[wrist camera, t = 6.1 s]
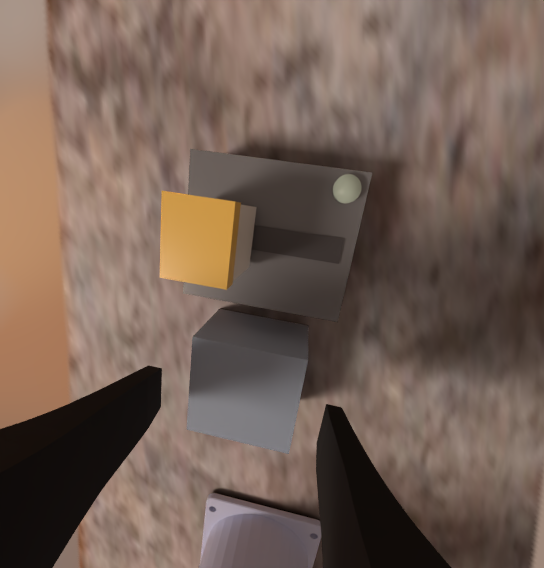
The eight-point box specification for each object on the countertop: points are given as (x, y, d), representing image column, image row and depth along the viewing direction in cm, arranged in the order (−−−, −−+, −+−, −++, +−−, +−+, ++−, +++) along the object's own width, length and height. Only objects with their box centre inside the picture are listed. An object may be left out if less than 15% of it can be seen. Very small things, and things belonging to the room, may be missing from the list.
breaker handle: (250, 268, 11) (226, 289, 8) (201, 260, 11) (159, 277, 8) (258, 206, 10) (235, 201, 7) (206, 198, 10) (161, 190, 7)
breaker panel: (332, 303, 13) (338, 325, 11) (204, 280, 14) (179, 295, 11) (359, 181, 12) (374, 171, 9) (213, 161, 12) (186, 146, 10)
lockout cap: (293, 401, 15) (288, 453, 12) (212, 384, 16) (186, 429, 12) (308, 325, 14) (308, 360, 11) (219, 308, 14) (192, 336, 11)
